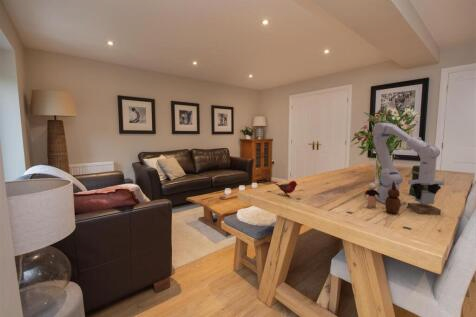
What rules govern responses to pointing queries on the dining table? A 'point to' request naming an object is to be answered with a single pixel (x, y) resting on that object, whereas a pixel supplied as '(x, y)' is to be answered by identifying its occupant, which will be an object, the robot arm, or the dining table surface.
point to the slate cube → (426, 198)
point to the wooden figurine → (393, 200)
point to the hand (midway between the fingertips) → (424, 199)
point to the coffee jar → (415, 177)
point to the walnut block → (424, 208)
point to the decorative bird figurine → (287, 187)
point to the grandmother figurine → (372, 196)
